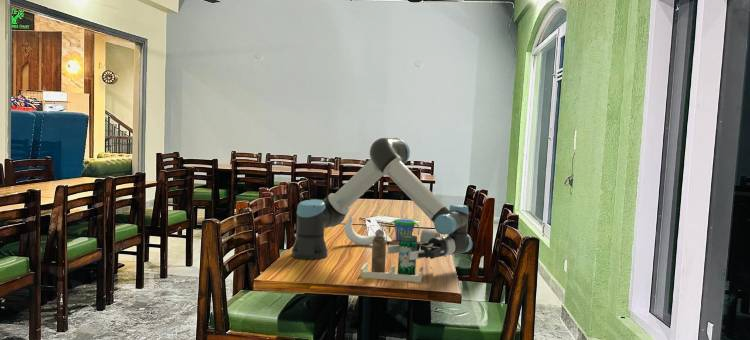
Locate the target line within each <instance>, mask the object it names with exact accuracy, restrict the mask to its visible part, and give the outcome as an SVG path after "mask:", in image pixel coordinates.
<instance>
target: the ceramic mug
mask: <svg viewBox="0 0 750 340" xmlns="http://www.w3.org/2000/svg"><path fill="white" fill-rule="evenodd" d="M436 237H441V234H440V233H438V232H437V231H436V230H432V229H431V230H430V229H427V228H423V229H422V230H421V233H420V237H419V238H420V239H419V242H420V243H424V242H429V240H430V239H431V238H436Z"/></svg>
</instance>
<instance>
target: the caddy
mask: <svg viewBox="0 0 750 340" xmlns="http://www.w3.org/2000/svg"><path fill="white" fill-rule="evenodd" d="M368 267H369V262H365V263H363V265H362V267H361V268H360V271H359V272H360V273H359V274H360V275H359V278H364V279H374V280H375V279H379V280H390V281H401V282H413V283H421V282H422V279H423V277H424V267H423V266H420V268H419V271H418V274H415V275H404V274H398V272H396V264H392V265H391V267H390V269H389V271H387V272H386V271H385V273H379V272H371V270H368V269H369V268H368Z"/></svg>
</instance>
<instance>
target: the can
mask: <svg viewBox="0 0 750 340" xmlns="http://www.w3.org/2000/svg"><path fill="white" fill-rule="evenodd" d="M417 242H418V235H417V236H416V235H413V234H412V235H400V239H399V241H398V243H399V252H398V262H397V273H398V274H404V275H416V268H417V267H416V265H417V264H416V263H417V259H414V260H410V252H414V251H416V250H417Z"/></svg>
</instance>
